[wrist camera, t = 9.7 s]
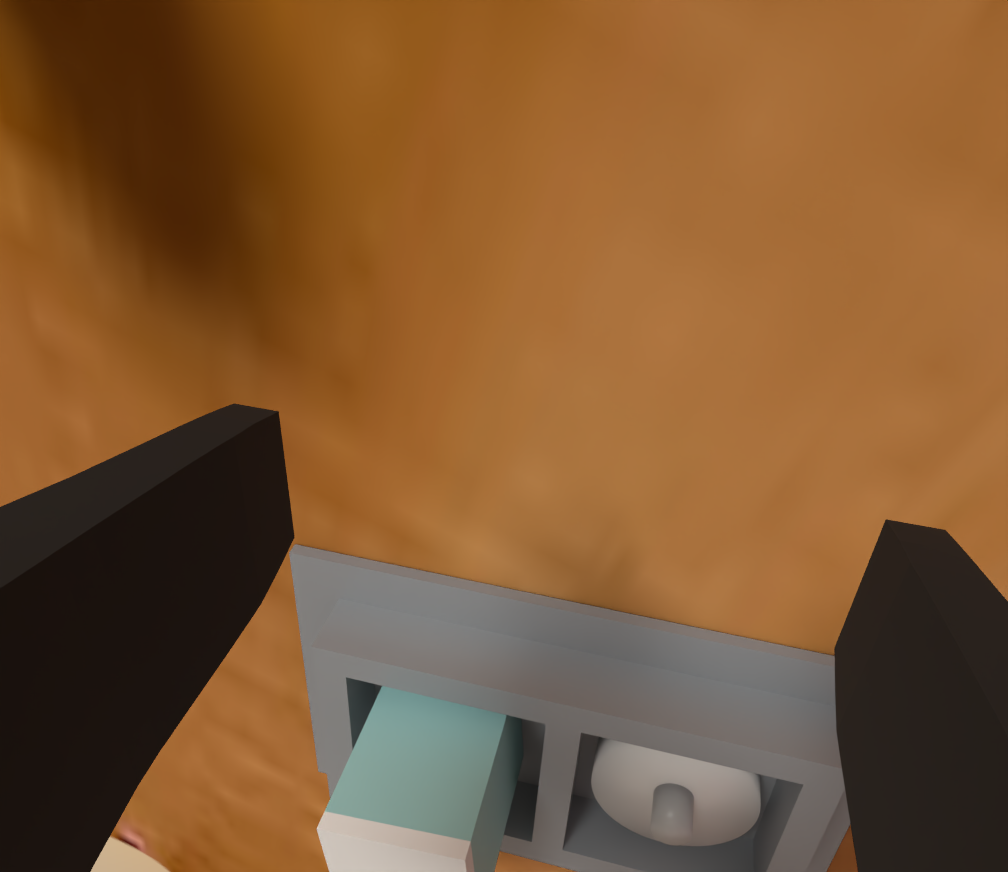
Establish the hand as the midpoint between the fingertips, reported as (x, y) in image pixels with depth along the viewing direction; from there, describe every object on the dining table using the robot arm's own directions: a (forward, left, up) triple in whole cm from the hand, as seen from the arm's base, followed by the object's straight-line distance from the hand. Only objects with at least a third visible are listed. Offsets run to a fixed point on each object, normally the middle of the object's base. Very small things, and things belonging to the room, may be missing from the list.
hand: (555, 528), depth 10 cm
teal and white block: (+4, +16, -9) cm, 19 cm away
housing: (0, +16, -9) cm, 19 cm away
